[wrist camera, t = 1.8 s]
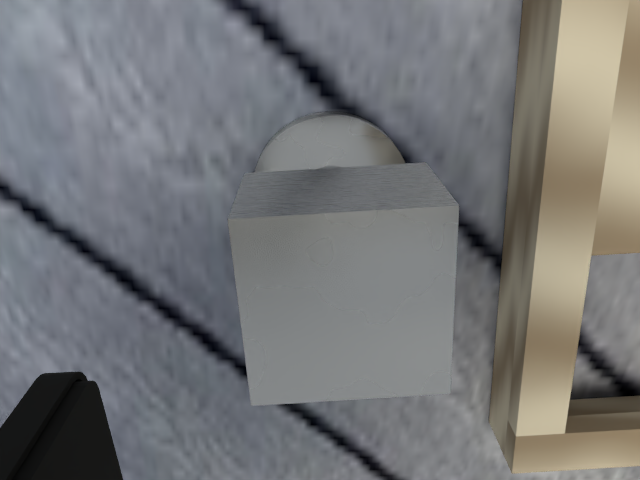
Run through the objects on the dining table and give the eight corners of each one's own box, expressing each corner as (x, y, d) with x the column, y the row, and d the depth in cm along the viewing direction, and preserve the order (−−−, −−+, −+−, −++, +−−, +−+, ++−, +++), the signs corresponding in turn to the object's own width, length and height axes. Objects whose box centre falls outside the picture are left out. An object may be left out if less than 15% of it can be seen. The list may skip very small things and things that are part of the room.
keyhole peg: (405, 254, 23) (469, 408, 14) (260, 262, 23) (233, 423, 14) (407, 106, 21) (483, 181, 12) (245, 116, 21) (201, 198, 12)
